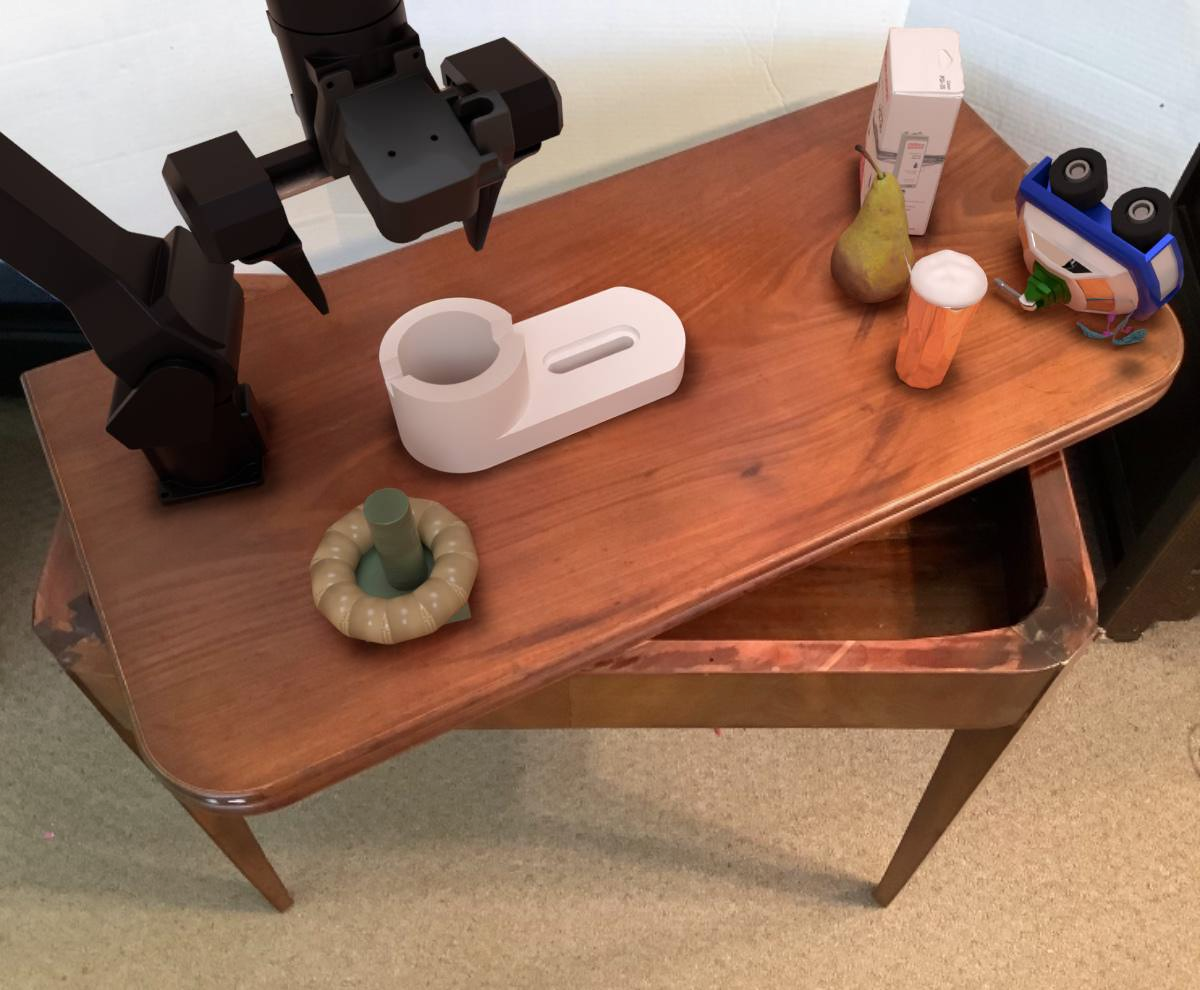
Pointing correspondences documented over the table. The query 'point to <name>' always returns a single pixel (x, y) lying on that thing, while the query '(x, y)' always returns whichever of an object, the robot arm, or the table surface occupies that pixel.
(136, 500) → the table surface
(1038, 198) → the toy car
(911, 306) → the beer glass
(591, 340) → the bracket
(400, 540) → the stand
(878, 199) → the fruit
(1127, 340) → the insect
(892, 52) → the ink box
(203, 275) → the robot arm
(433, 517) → the segmented ring
